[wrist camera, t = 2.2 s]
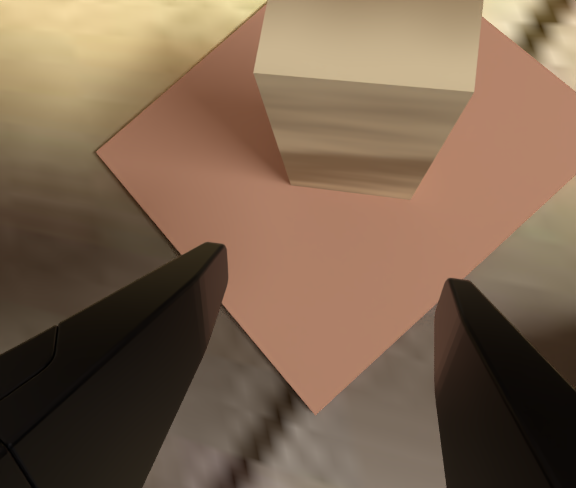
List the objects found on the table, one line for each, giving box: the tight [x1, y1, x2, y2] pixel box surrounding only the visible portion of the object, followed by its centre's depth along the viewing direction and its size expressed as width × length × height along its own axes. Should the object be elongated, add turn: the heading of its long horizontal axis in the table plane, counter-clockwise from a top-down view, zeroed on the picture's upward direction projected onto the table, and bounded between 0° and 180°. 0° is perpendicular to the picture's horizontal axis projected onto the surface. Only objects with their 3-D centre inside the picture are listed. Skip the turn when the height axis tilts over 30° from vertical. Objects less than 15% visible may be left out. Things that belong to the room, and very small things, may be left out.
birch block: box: [253, 0, 483, 200], centre depth 17 cm, size 4×6×10 cm, turn 81°
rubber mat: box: [96, 4, 576, 415], centre depth 22 cm, size 20×18×1 cm
